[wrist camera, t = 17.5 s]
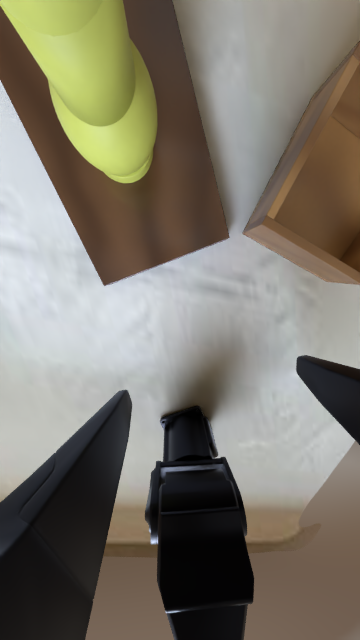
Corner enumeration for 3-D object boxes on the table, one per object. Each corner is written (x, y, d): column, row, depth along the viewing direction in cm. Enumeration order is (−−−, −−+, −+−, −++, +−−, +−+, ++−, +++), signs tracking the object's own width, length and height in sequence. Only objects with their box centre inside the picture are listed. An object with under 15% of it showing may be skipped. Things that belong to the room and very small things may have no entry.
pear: (136, 207, 16) (40, 37, 4) (71, 156, 14) (-351, -315, 3) (174, 137, 14) (192, -417, 3) (106, 74, 13) (-447, -1604, 1)
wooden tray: (326, 281, 21) (363, 285, 17) (242, 233, 18) (261, 224, 15) (403, 171, 18) (470, 143, 14) (312, 96, 15) (360, 38, 11)
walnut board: (110, 284, 19) (104, 286, 18) (-7, 46, 13) (-34, 13, 12) (224, 240, 19) (229, 237, 17) (155, -33, 13) (152, -81, 11)
